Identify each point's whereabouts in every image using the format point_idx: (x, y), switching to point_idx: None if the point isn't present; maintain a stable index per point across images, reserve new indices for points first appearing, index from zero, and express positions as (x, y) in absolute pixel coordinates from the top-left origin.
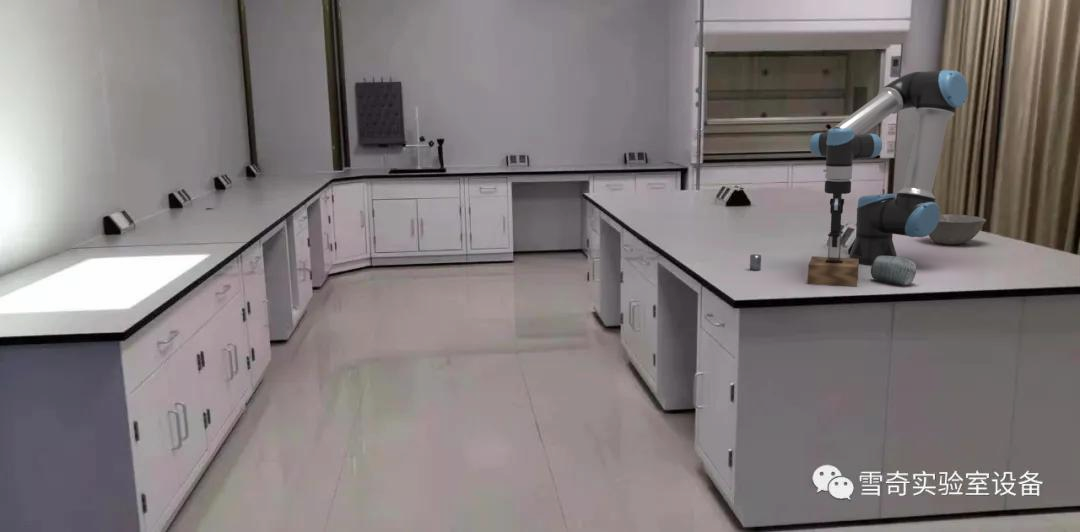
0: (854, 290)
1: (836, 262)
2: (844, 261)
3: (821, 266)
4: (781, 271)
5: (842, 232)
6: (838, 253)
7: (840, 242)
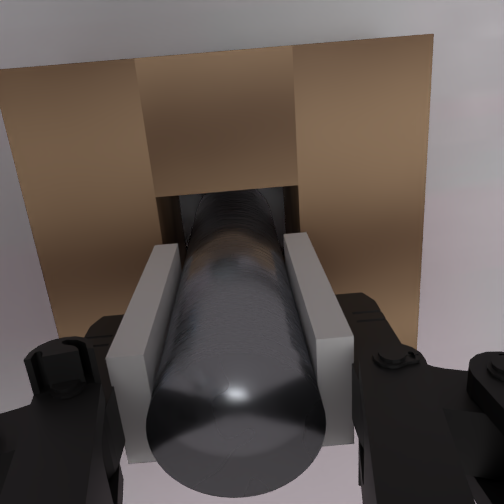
0: (497, 44)
1: (273, 234)
2: (198, 180)
3: (415, 313)
4: None
5: (89, 349)
6: (311, 248)
7: (251, 288)
